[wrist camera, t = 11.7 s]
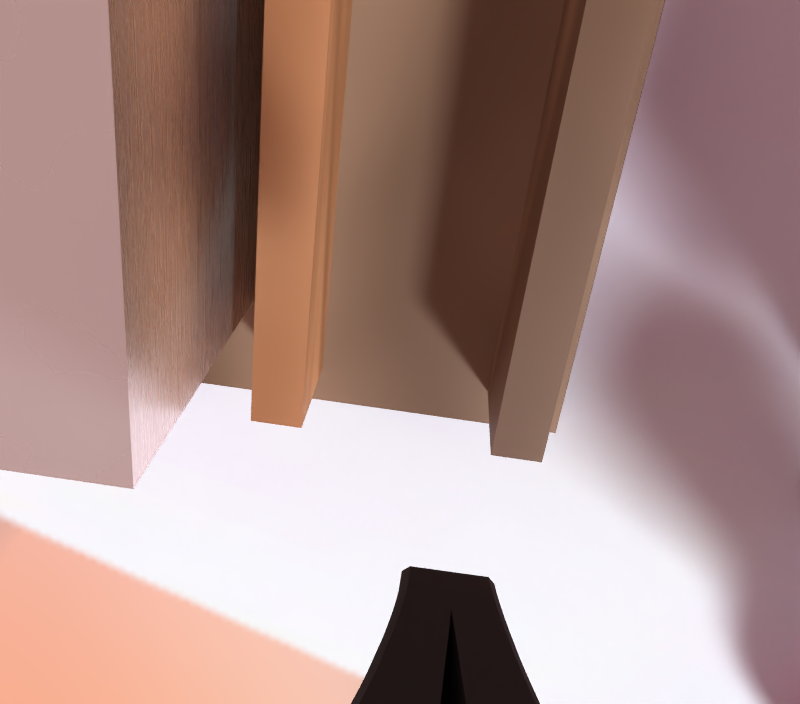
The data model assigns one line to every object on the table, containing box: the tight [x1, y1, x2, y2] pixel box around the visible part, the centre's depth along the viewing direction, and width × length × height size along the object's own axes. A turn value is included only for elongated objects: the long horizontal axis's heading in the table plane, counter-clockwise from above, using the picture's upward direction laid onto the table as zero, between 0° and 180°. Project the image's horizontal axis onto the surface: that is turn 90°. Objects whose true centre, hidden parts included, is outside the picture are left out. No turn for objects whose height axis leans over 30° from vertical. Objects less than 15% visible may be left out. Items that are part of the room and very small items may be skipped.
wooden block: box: [0, 0, 263, 489], centre depth 14 cm, size 9×3×8 cm, turn 173°
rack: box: [201, 0, 665, 462], centre depth 17 cm, size 20×14×4 cm
